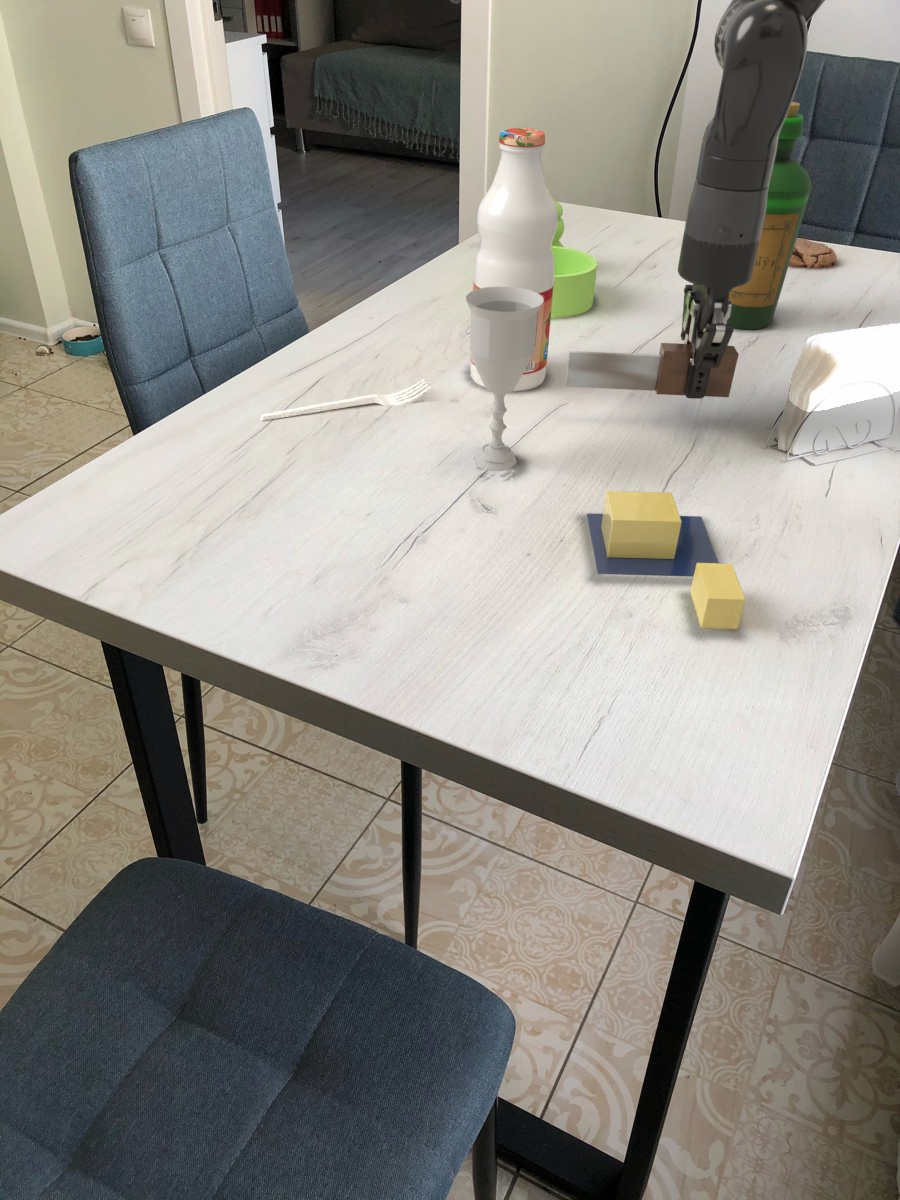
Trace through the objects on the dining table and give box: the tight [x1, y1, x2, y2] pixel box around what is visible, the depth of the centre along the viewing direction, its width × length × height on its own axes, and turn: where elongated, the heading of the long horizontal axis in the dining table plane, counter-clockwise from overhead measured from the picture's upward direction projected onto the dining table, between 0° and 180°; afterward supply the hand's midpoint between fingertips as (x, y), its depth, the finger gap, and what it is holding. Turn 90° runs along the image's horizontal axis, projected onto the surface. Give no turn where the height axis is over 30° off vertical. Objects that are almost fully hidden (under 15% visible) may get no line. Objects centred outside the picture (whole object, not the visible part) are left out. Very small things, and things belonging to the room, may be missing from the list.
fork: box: [260, 379, 431, 422], centre depth 108 cm, size 3×20×2 cm, turn 112°
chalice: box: [465, 287, 543, 472], centre depth 93 cm, size 7×7×18 cm
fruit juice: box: [469, 127, 558, 392], centre depth 108 cm, size 9×9×28 cm
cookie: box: [788, 237, 837, 270], centre depth 156 cm, size 10×11×3 cm
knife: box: [564, 342, 739, 398], centre depth 103 cm, size 18×2×5 cm, turn 89°
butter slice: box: [689, 562, 746, 630], centre depth 77 cm, size 3×5×4 cm, turn 179°
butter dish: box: [586, 490, 720, 578], centre depth 85 cm, size 11×10×5 cm
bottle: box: [726, 101, 813, 331], centre depth 126 cm, size 11×11×28 cm
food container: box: [547, 188, 598, 319], centre depth 139 cm, size 25×15×13 cm, turn 1°
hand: (691, 390), depth 104 cm, fingers closed on knife, 2 cm apart
